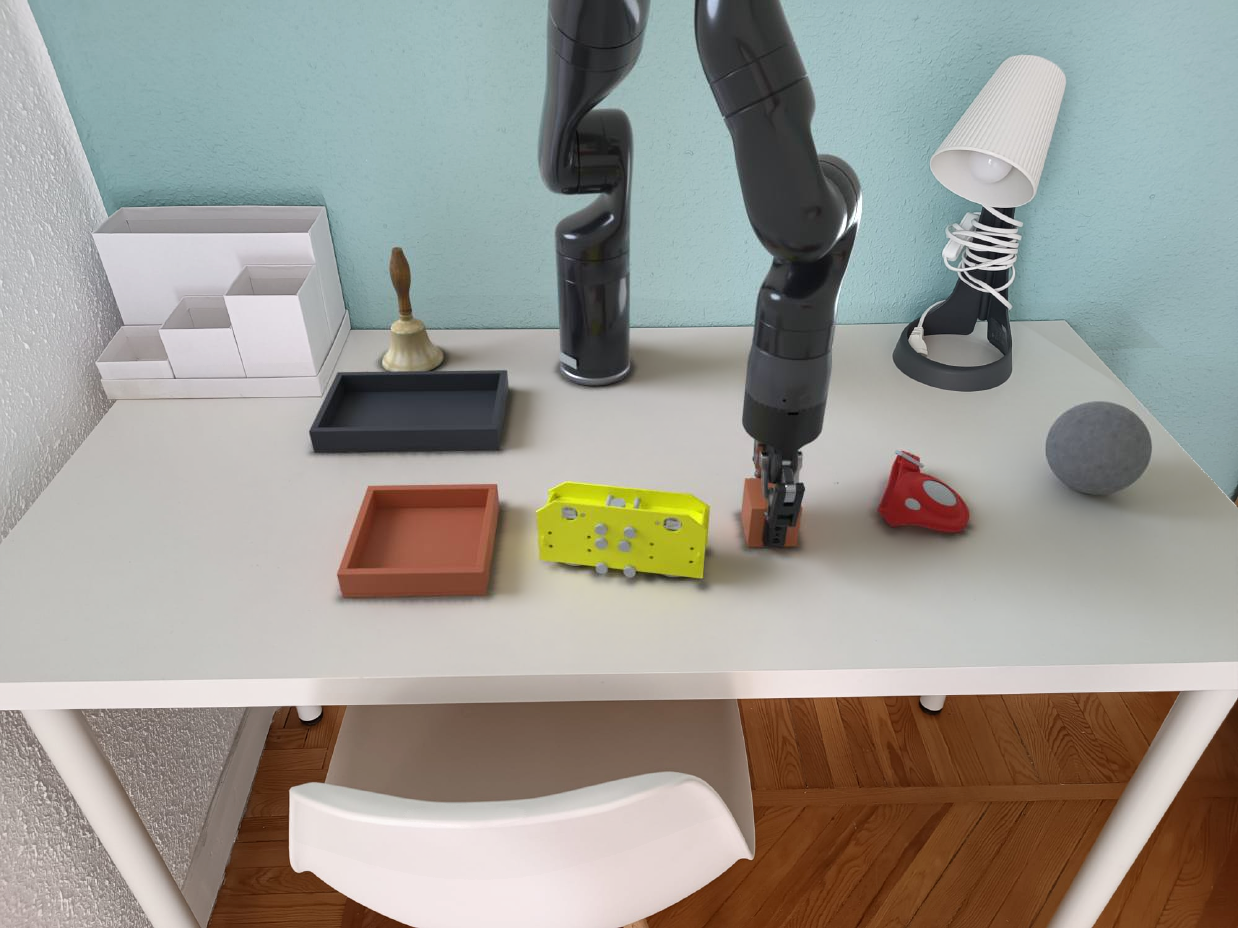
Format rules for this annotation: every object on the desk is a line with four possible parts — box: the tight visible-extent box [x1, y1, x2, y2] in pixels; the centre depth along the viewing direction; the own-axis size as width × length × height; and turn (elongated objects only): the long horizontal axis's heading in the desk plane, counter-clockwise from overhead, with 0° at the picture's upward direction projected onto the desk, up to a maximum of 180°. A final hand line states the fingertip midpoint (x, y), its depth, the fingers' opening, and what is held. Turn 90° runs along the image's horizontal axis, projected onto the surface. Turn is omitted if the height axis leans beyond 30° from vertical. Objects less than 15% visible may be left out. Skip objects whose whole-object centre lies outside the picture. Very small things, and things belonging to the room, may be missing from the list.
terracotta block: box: [740, 477, 803, 548], centre depth 89 cm, size 5×5×5 cm
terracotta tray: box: [336, 483, 501, 598], centre depth 87 cm, size 14×14×3 cm
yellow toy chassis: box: [535, 480, 711, 579], centre depth 84 cm, size 16×6×8 cm, turn 80°
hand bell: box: [381, 246, 445, 372], centre depth 115 cm, size 8×8×16 cm
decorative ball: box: [1045, 400, 1153, 496], centre depth 93 cm, size 10×10×10 cm
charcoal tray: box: [308, 369, 510, 454], centre depth 107 cm, size 14×22×3 cm, turn 91°
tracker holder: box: [877, 449, 971, 534], centre depth 92 cm, size 12×4×10 cm
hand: (768, 526), depth 90 cm, fingers closed on terracotta block, 5 cm apart
